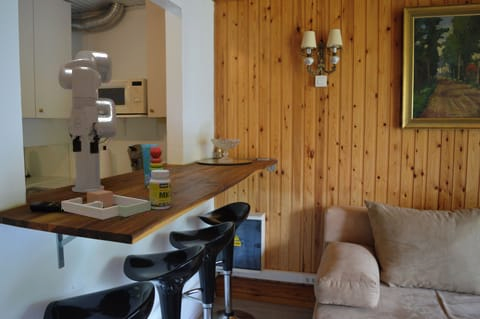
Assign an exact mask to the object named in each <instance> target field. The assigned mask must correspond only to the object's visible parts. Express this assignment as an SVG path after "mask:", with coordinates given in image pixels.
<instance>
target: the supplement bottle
mask: <svg viewBox="0 0 480 319" xmlns="http://www.w3.org/2000/svg"><path fill="white" fill-rule="evenodd" d="M151 177H152V179H150V181H149V189H148V193H149V194H148V201H151V210H152V209H153V210H167V209H169V208H171V204H172V203H171V200H172V199H171V198H172V197H171V191H172V190H171V189H172V188H171V187H172V185H171V184H172V181H171V179H170V178H169V177H170V170H168V169H163V170H152V171H151Z"/></svg>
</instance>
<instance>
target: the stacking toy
mask: <svg viewBox="0 0 480 319" xmlns="http://www.w3.org/2000/svg"><path fill="white" fill-rule="evenodd" d="M162 154H163V151H162V149H161V148H160V147H159V146H158V147H153V148H151V150H150V155H151V157H153V158H151V159H150V162H152V163H150V168H149V171H150V172H149V178H148V179H149V181H150V179H152V177H151V171H152V170H164V167H163V166H164V164H163V159H162V157H161V156H162ZM148 184H149V182H148ZM147 190H149V185H148V186H147Z"/></svg>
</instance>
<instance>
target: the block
mask: <svg viewBox="0 0 480 319" xmlns="http://www.w3.org/2000/svg"><path fill="white" fill-rule="evenodd" d="M113 195H114V192H113V191H110V190H105V189H104V190H97V191H92V192H86V204H88V203H93V202H94V201H100V202H103V207H104V208H108V207H113V206H114V204H113Z"/></svg>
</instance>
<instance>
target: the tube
mask: <svg viewBox="0 0 480 319" xmlns="http://www.w3.org/2000/svg"><path fill="white" fill-rule="evenodd" d="M140 145H141V155H142V164H143V175H144V176H143V177H144V178H143V180H144V185H145V187H146V186H147V187H148V185H149V184H148V182H149V179H148V178H149V172H150V171H149V168H150V163H152V162H150V159H151V158H153V157H151V155H150V150H151V148H153V147H159V143H141V144H140Z"/></svg>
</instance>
